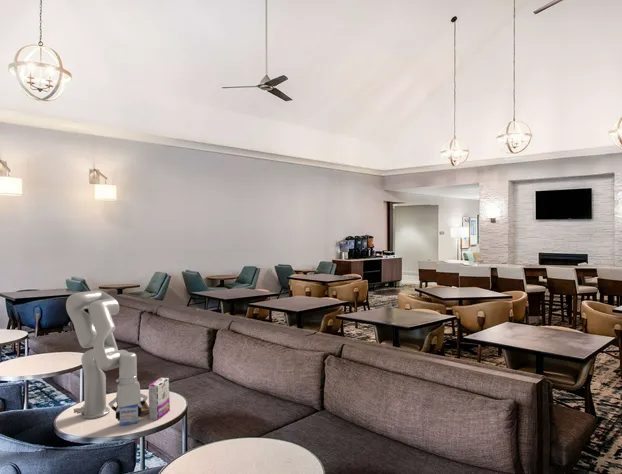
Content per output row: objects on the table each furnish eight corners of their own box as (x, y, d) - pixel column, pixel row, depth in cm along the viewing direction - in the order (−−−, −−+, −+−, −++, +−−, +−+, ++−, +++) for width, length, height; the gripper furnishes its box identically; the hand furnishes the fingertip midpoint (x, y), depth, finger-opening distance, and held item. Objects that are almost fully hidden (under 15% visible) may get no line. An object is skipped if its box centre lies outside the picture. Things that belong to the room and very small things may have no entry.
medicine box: (119, 426, 206) (119, 407, 206) (119, 422, 210) (119, 404, 210) (138, 423, 209) (138, 404, 209) (137, 419, 213) (137, 401, 213)
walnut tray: (129, 418, 215) (129, 413, 215) (124, 408, 227) (124, 403, 227) (150, 414, 220) (150, 409, 219) (144, 404, 232) (144, 400, 231)
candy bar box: (160, 410, 225) (160, 377, 224) (170, 410, 224) (169, 377, 223) (148, 419, 214) (148, 384, 214) (158, 420, 213) (157, 385, 213)
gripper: (108, 385, 202) (109, 424, 202) (149, 379, 211) (150, 416, 211) (106, 381, 208) (107, 418, 208) (146, 374, 217) (146, 410, 217)
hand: (128, 417), depth 210 cm, fingers closed on medicine box, 8 cm apart
